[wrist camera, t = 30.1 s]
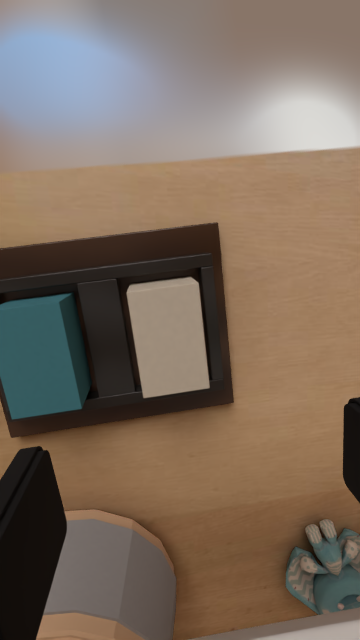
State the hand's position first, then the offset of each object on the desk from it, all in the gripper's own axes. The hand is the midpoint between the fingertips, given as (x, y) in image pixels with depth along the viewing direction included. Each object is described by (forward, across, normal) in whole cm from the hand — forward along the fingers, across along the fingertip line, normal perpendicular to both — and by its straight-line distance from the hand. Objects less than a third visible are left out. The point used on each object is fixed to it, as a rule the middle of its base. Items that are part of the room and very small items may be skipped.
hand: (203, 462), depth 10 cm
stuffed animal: (+19, -14, +30) cm, 38 cm away
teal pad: (+18, +10, +1) cm, 20 cm away
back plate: (+19, +5, +1) cm, 20 cm away
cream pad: (+18, 0, 0) cm, 18 cm away
